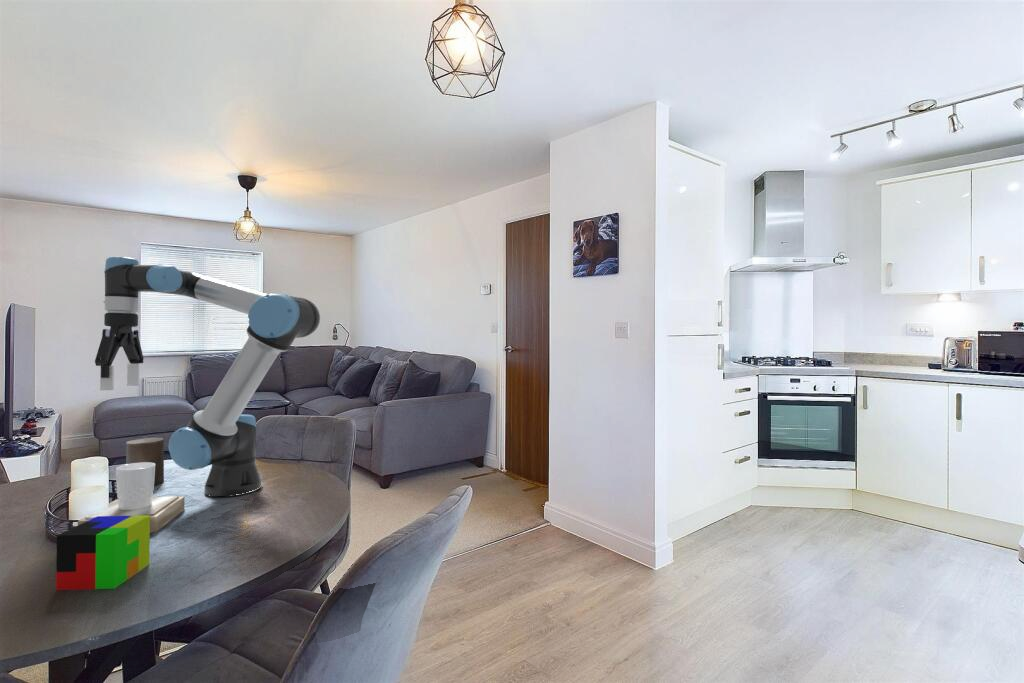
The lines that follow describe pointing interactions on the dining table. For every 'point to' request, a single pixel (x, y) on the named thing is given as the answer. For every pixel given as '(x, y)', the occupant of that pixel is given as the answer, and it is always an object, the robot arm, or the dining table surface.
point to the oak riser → (147, 511)
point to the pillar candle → (147, 454)
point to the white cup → (135, 485)
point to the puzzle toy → (102, 552)
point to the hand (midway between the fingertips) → (120, 387)
